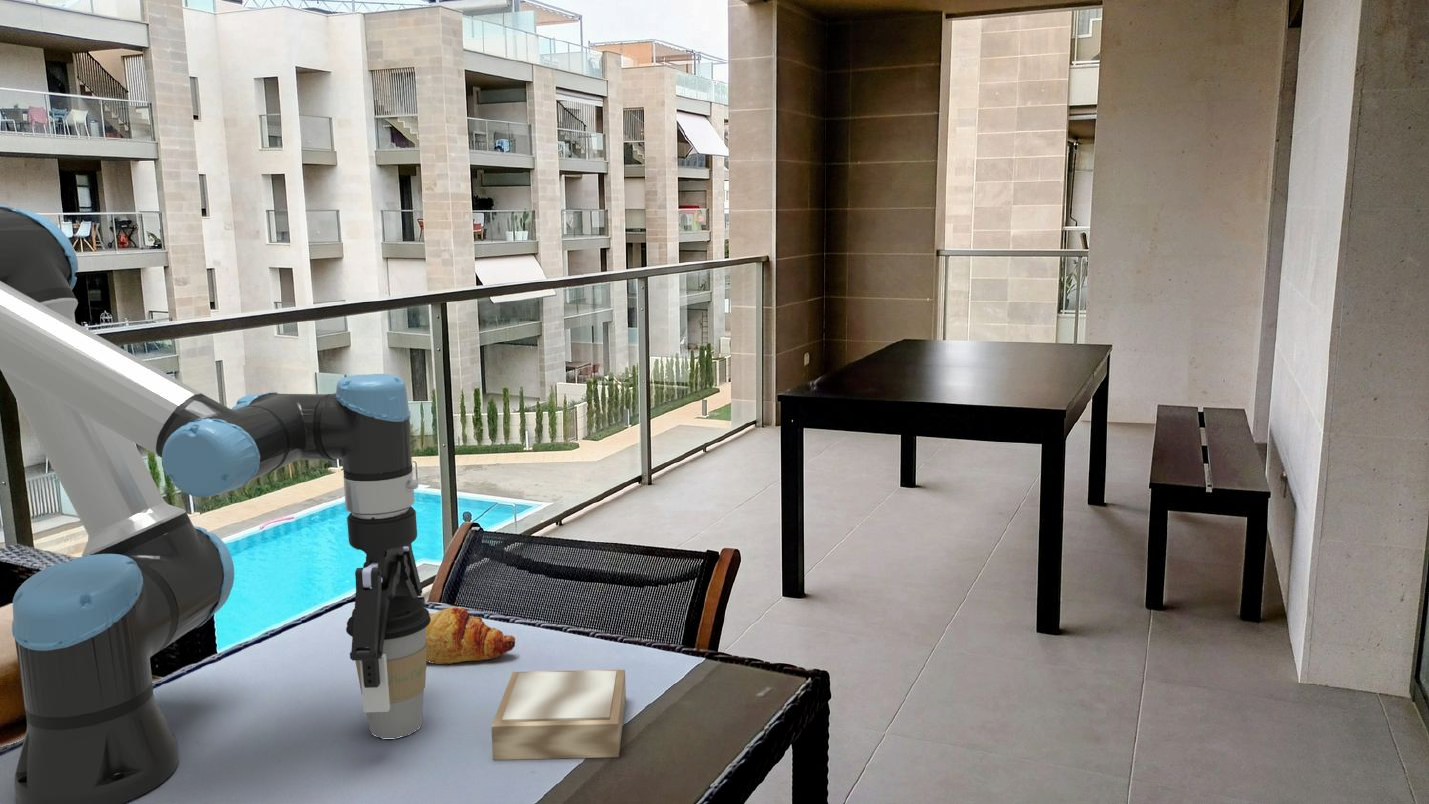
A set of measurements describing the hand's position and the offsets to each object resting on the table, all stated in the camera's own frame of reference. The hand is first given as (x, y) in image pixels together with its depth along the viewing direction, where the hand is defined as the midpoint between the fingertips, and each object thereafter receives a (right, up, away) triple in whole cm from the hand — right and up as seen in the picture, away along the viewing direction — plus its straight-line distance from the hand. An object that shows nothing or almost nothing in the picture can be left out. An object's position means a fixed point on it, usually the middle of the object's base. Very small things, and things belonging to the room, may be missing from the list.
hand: (394, 683), depth 119 cm
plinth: (+20, -5, +1) cm, 21 cm away
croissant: (0, -2, +23) cm, 23 cm away
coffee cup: (0, -6, +1) cm, 6 cm away
